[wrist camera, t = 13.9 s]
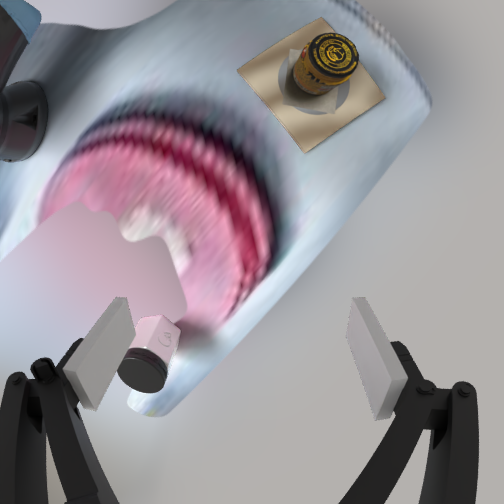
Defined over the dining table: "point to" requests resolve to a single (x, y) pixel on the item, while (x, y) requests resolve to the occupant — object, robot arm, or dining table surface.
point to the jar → (150, 354)
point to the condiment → (319, 72)
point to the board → (300, 119)
